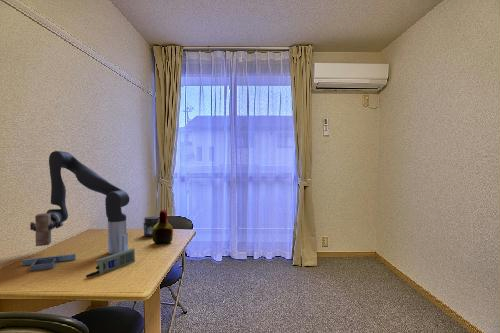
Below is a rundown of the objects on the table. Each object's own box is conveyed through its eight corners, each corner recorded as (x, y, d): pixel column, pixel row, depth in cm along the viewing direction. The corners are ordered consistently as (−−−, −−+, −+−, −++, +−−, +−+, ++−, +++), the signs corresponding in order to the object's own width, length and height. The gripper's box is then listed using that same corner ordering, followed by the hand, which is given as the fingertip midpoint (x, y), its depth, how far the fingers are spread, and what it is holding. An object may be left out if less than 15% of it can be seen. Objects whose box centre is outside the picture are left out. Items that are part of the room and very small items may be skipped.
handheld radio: (136, 262, 150) (89, 280, 127) (131, 261, 151) (84, 279, 129) (135, 248, 150) (88, 264, 127) (130, 248, 151) (83, 263, 129)
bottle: (173, 241, 186) (173, 209, 186) (172, 244, 180) (172, 210, 180) (153, 242, 185) (153, 209, 184) (151, 245, 179) (151, 211, 178)
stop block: (51, 242, 145) (50, 213, 145) (48, 245, 140) (48, 215, 140) (38, 243, 143) (38, 213, 143) (35, 246, 139) (35, 215, 138)
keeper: (76, 258, 154) (75, 253, 154) (72, 266, 143) (72, 261, 143) (23, 264, 146) (23, 259, 145) (15, 273, 134) (15, 267, 134)
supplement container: (147, 233, 206) (147, 215, 206) (162, 233, 205) (162, 216, 205) (140, 237, 196) (140, 218, 196) (156, 237, 195) (156, 219, 195)
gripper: (33, 214, 152) (22, 221, 136) (66, 213, 157) (60, 219, 142) (33, 229, 152) (23, 238, 136) (66, 227, 158) (60, 235, 142)
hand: (42, 228), depth 139 cm, fingers closed on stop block, 5 cm apart
